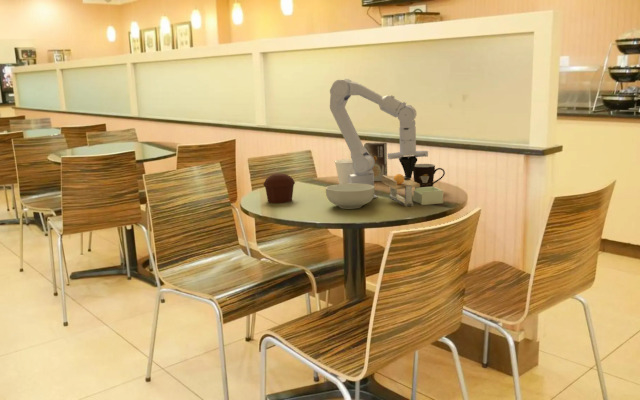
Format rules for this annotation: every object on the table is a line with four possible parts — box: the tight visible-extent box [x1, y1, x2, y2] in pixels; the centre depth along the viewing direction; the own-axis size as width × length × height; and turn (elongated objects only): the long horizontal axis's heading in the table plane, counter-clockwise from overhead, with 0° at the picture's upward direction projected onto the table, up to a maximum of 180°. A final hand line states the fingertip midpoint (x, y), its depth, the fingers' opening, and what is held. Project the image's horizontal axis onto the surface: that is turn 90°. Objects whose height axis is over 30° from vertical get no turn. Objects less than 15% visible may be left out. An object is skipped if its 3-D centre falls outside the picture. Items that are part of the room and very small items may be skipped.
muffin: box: [263, 172, 296, 204], centre depth 216 cm, size 12×11×10 cm
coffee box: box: [363, 142, 388, 182], centre depth 252 cm, size 9×6×16 cm
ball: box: [393, 173, 404, 184], centre depth 202 cm, size 4×4×4 cm
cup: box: [334, 158, 355, 184], centre depth 238 cm, size 10×10×11 cm
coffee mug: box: [412, 163, 446, 189], centre depth 224 cm, size 12×9×10 cm
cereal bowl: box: [325, 183, 376, 210], centre depth 202 cm, size 17×17×7 cm
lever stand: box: [388, 177, 414, 207], centre depth 207 cm, size 3×17×7 cm, turn 12°
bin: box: [413, 186, 444, 206], centre depth 205 cm, size 8×8×4 cm
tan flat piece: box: [381, 175, 420, 190], centre depth 207 cm, size 9×14×3 cm, turn 12°
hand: (408, 177), depth 211 cm, fingers closed, pressing on tan flat piece
